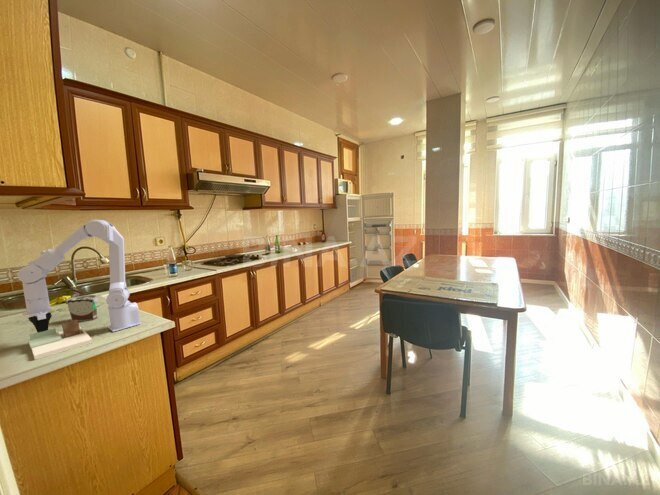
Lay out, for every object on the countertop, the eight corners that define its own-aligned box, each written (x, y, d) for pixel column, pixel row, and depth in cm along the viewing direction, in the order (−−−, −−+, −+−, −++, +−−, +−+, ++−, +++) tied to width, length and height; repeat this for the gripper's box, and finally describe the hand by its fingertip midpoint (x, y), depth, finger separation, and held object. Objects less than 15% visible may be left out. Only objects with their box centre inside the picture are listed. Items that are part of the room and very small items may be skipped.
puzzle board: (81, 329, 108) (80, 326, 108) (92, 342, 96) (91, 339, 96) (29, 343, 97) (28, 339, 97) (34, 360, 85) (34, 355, 85)
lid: (58, 334, 101) (57, 327, 100) (61, 339, 96) (60, 332, 96) (28, 342, 95) (27, 335, 94) (30, 347, 90) (29, 340, 90)
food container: (107, 314, 125) (104, 294, 124) (96, 319, 119) (93, 298, 118) (80, 316, 125) (77, 295, 124) (68, 321, 119) (65, 299, 118)
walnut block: (78, 334, 104) (76, 319, 103) (80, 336, 102) (78, 321, 101) (64, 338, 101) (61, 323, 100) (66, 340, 98) (63, 325, 98)
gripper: (19, 298, 98) (25, 333, 100) (21, 305, 89) (28, 343, 91) (46, 293, 104) (52, 326, 105) (51, 299, 94) (57, 336, 96)
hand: (43, 334), depth 98 cm, fingers closed
